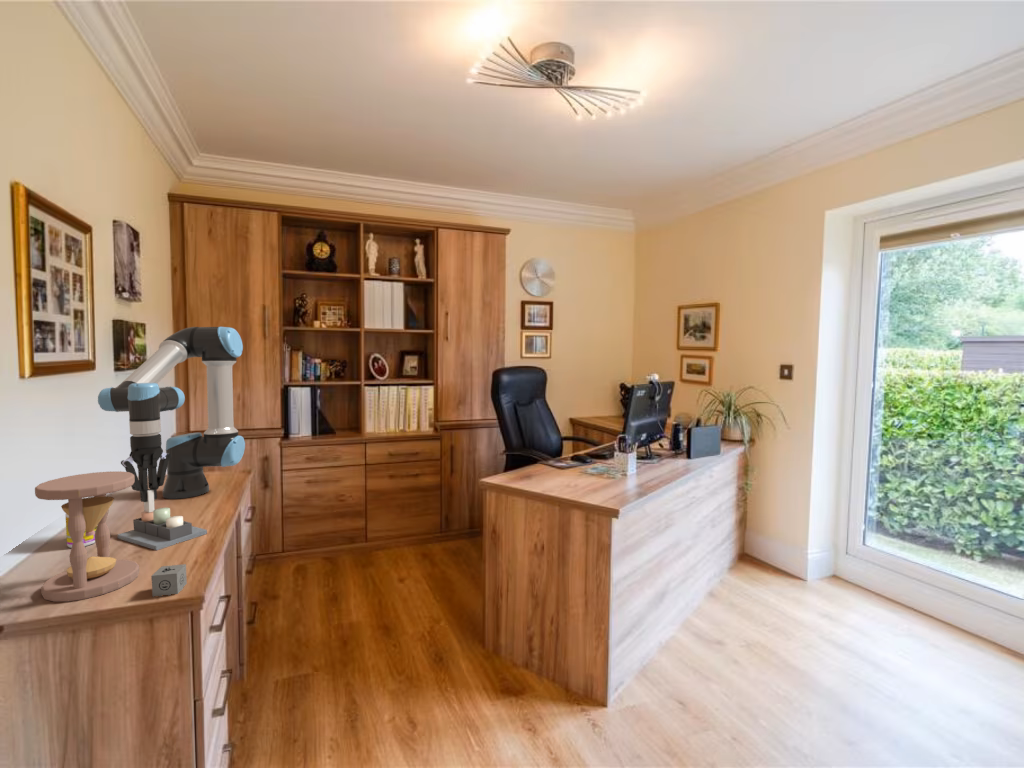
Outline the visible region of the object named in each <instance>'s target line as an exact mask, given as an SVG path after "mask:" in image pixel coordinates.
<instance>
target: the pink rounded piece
mask: <svg viewBox="0 0 1024 768" xmlns="http://www.w3.org/2000/svg"><path fill="white" fill-rule="evenodd" d="M140 516H141V517H140V518H142V521H144V522H147V521H151V520H154V519H153V512H150V513H149V512H145V511H144V510H143V511H142V512H141V513H140Z"/></svg>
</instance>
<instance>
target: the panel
mask: <svg viewBox="0 0 1024 768" xmlns="http://www.w3.org/2000/svg"><path fill="white" fill-rule="evenodd" d="M207 534H208V529H205V528H201V527H197V526H193V525H192V522H189V521H185V520H183V525H181V526H178V527H175V528H171V529H170V528H166V523H164V524H160V525H155V524H154V520H151V521H147V522H144V521H142V518H141V517H139V518H135V519H133V529H132V530H128V531H124V532H121V533H118V534H117V539H118V540H122V541H125V542H128V543H130V544H135V545H138V546H140V547H145V548H147V549H152V550H153V551H159V550H162V549H165V548H168V547H172V546H174V545H177V544H180V543H183V542H185V541H189V540H192V539H195V538H199V537H201V536H204V535H207ZM179 542H180V543H179ZM176 543H177V544H176Z"/></svg>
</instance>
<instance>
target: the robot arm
mask: <svg viewBox="0 0 1024 768" xmlns="http://www.w3.org/2000/svg"><path fill="white" fill-rule="evenodd" d="M243 349H244V345H243V340H242V338H241V335H240V334H239V332H238V331H237V329H235V328H234V327H229V326H191V327H185V328H183V329H180V330H178V331H177V332H174V333H173V334H171V335H170V336H168V337H166V338H165V339H164V340H163V341H162V342H160V343H159V345H158V349H157V350H156V351H155V352H154V353H153V354H152V355H151V356H150V357H148V359H146V360H145V361H144V362H143V363H141V364H140V365H139V366H138V367H137V368H136V369H135V370H134V371H133V372H132V373H130V375H128V376H127V377H126V378H125V379H124V380H123V381H122V382H120V384H119V385H117V386H116V387H112V386H111V387H106V388H103V389H101V390H100V391H99V394H98V396H97V403H98V405H99V408H100V409H101V410H103V411H105V412H116V413H119V412H128V416H129V420H128V421H129V423H128V424H129V434H130V435H131V436H130V437H129V443H130V445H129V446H130V453H129V456H128V457H127V458H126V459H125V460H124V459H123V460H121V461H120V465H122V467H123V468H124V469H125V472H130V473H132V474H134V476H135V482H134V484H133V485H132V486H130V487H131V489H132V490H133V491H137V492H139V493H140V495H139V496H140V497H139V498H140V503H141V502H142V503H143V512H144V511H145V512H149V513H150V512H153V511H154V510H156V509H155V500H157V498H158V494H157V493H158V491H157V490H158V489H159V487H162V486H163V488H162V497H163V498H164V499H168V500H169V499H170V500H177V499H178V500H179V499H187V498H194V497H198V496H201V494H202V495H204V493H205V494H207V493H209V491H210V484H209V482H208V480H207V477H206V474H205V473H204V468H205V467H211V468H212V467H223V468H224V467H232V466H236V465H237V464H239V463H240V461H242V458H243V456H244V453H245V449H246V440H245V438H244V436H242V435H239V430H238V429H237V428H236V427H235V424H234V421H235V419H234V389H233V388H234V385H233V366H234V365H235V364H236V363H237V361H238V360H237V358H239V357H241V355H242V354H243ZM190 358H201V363H202V364H204V365H205V366H206V388H207V389H206V391H207V394H206V395H207V427H208V428H207V429H206V430H204V432H203V434H202V432H193V433H192V432H190V433H186V434H184V433H183V434H179V435H175V436H174V435H173V436H171V437H169V438H167V440H166V441H165V452H164V450H163V448H162V434H161V432H162V427H161V412H169V411H174V410H177V409H179V408H181V407H182V406H183V405H184V403H185V400H186V398H185V394H184V391H182V389H180V388H179V387H177V386H165V387H163V386H162V387H160V386H159V383H160V382H161V381H162V380H163V378H165V377H166V376H167V375H168V374H169V373H170V372H171V371H172V370H173V369H174V368H175V367H176V366H177V364H181V363H184V362H185V361H186V360H188V359H190ZM158 461H159V463H158ZM134 463H135V464H136V468H137V472H138V474H137V472H136V469H135V467H134ZM157 467H158V468H157ZM166 474H167V476H166ZM165 479H166V480H165ZM206 492H207V493H206Z"/></svg>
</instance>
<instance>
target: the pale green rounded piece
mask: <svg viewBox="0 0 1024 768" xmlns="http://www.w3.org/2000/svg"><path fill="white" fill-rule="evenodd" d="M169 517H171V508H170V507H160V508H156V509H155V510H154V511H153V519H154V524H155V525H160V524H164V523H166V519H167V518H169Z"/></svg>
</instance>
